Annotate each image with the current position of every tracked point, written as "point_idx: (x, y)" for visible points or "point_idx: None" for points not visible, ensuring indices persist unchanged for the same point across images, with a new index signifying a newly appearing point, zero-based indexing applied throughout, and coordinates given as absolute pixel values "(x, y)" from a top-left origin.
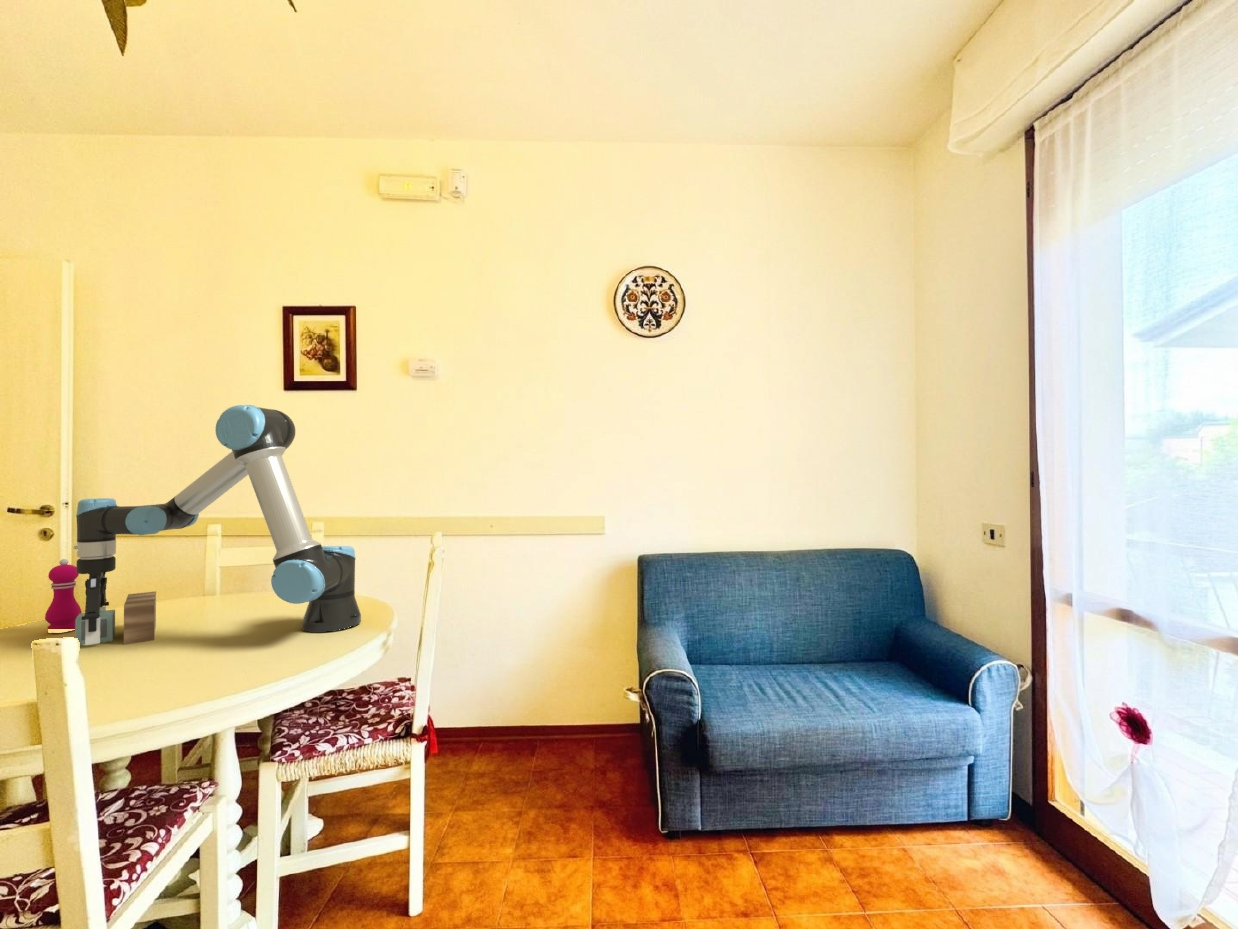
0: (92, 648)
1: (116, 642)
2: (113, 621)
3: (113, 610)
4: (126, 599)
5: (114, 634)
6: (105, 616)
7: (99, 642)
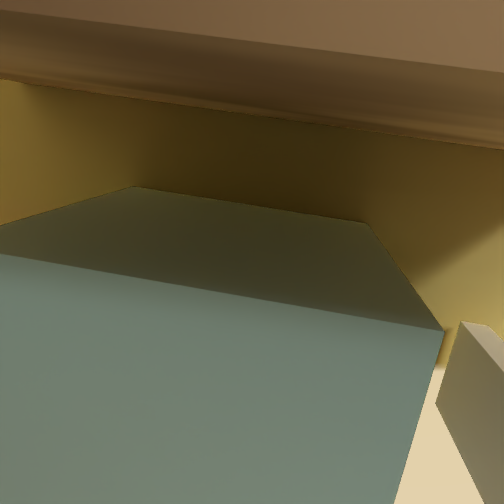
0: None
1: (446, 202)
2: (257, 250)
3: (28, 274)
4: (182, 19)
5: (164, 193)
6: (419, 414)
7: (493, 331)
